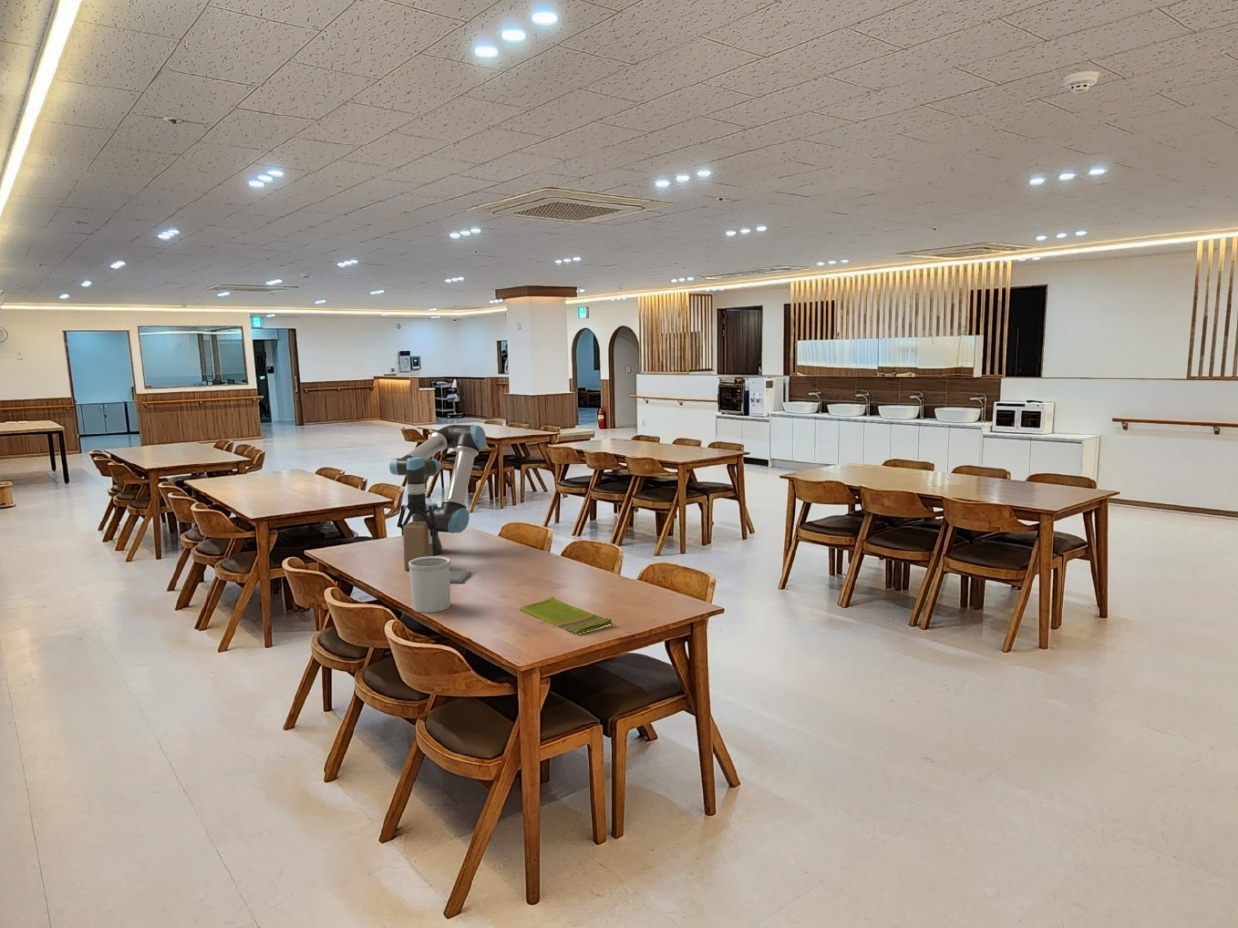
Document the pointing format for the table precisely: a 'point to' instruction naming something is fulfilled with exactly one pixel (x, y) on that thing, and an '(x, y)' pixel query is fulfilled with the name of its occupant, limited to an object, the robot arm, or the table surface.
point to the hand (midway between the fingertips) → (418, 543)
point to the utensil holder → (430, 584)
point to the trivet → (458, 576)
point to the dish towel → (565, 616)
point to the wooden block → (416, 542)
